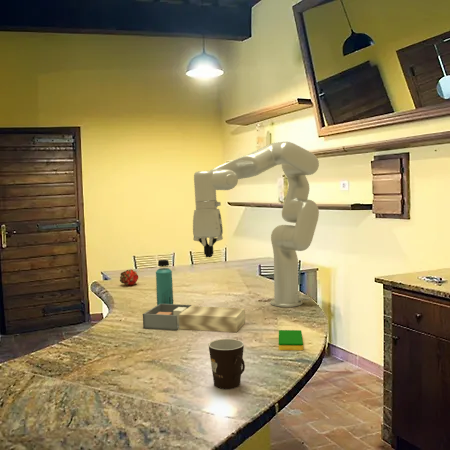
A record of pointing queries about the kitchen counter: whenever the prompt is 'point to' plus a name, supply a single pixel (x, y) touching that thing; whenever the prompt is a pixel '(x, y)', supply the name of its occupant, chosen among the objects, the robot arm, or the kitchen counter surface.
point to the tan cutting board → (212, 319)
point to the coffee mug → (227, 362)
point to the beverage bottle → (164, 284)
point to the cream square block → (178, 312)
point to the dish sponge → (290, 340)
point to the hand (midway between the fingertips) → (209, 256)
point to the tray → (161, 317)
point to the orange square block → (165, 313)
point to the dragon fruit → (129, 277)
